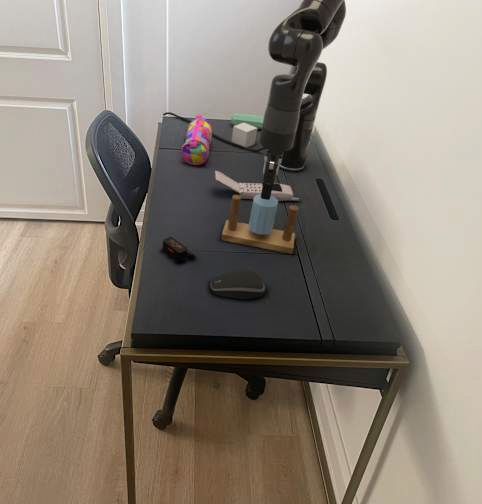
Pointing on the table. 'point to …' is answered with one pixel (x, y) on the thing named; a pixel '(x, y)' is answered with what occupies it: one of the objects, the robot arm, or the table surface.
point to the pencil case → (197, 141)
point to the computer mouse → (238, 285)
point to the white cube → (244, 134)
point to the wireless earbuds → (176, 250)
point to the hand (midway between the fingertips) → (267, 190)
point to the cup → (263, 215)
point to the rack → (271, 241)
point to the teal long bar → (247, 120)
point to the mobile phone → (256, 188)
